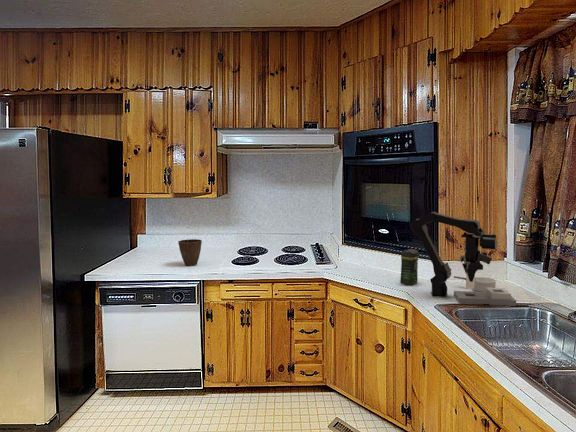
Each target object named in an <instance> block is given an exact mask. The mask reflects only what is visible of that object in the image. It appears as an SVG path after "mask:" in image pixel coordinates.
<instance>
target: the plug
mask: <svg viewBox="0 0 576 432" xmlns="http://www.w3.org/2000/svg"><path fill="white" fill-rule="evenodd" d="M475 277H476V275H475V276H474V279H473V281H472V282H470V280H469V277H468V274H467V272H466V273H465V278H466V280H465V288H466V289H468V290H474V283H475Z"/></svg>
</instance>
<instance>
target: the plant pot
mask: <svg viewBox="0 0 576 432" xmlns="http://www.w3.org/2000/svg"><path fill="white" fill-rule="evenodd" d="M202 241H203V240H202V239H194V238H191V239H182V240H178V241H177V243H178V247H179V248H178V249H179V252H180V254H181V258H182V261H183V263H184V266H186V267H194V266H197V264H198V261H199V259H200V255H201V252H202V251H201V250H202V249H201V248H202Z"/></svg>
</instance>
